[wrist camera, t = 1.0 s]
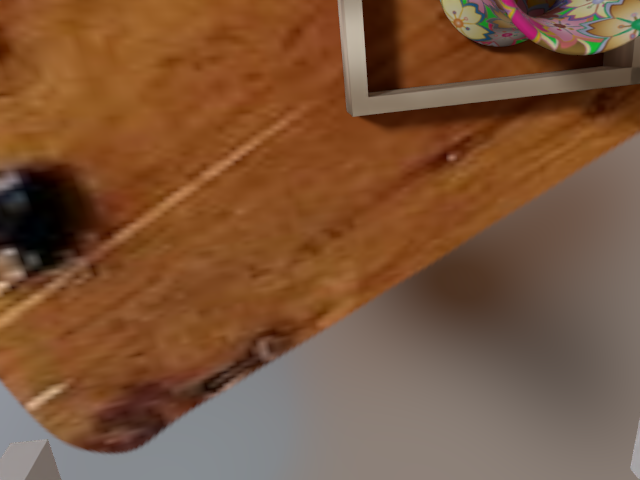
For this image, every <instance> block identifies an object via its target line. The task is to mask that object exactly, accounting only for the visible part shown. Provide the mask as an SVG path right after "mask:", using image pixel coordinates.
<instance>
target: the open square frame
mask: <svg viewBox="0 0 640 480" xmlns="http://www.w3.org/2000/svg"><path fill="white" fill-rule="evenodd" d="M338 10H339V22H340V34H341V46H342V58H343V70H344V83H345V95H346V107H347V112H349V113H350V114H351V115H352V116H353V117H354V116H362V115H371V114H380V113H388V112H397V111H406V110H415V109H423V108H432V107H441V106H449V105H458V104H467V103H475V102H484V101H493V100H502V99H510V98H519V97H528V96H536V95H545V94H554V93H563V92H571V91H580V90H589V89H597V88H606V87H615V86H624V85H632V84H640V36H639V37H637V38H635V39H634V40H632V41H630V42H628V43H627V44H625V45H623V46H620V47H618V48H615V49H613V50H609V51H606V52H604V57H603V66H598V67H590V68H581V69H572V70H563V71H554V72H545V73H537V74H528V75H519V76H510V77H501V78H493V79H484V80H475V81H466V82H457V83H448V84H440V85H431V86H422V87H413V88H404V89H396V90H387V91H378V92H369V93H368V85H367V70H366V55H365V40H364V26H363V11H362V0H338Z"/></svg>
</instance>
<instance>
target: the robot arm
mask: <svg viewBox="0 0 640 480" xmlns="http://www.w3.org/2000/svg"><path fill="white" fill-rule="evenodd" d="M630 469H631V470H632V471H633V473H634V474H635V475H636V476H637V477H638V479H639V480H640V420H639V426H638V430H637V436H636V441H635V446H634V451H633V457H632V462H631V467H630ZM0 480H61V478H60V475H59V472H58V469H57V466H56V462H55V459H54V456H53V453H52V450H51V447H50V444H49V441H48V439H46V440H37V441H27V442H18V443H11V444H10V446H9V447H8V448H7V450H6V451H5V453H4V454H3V456H2V457H1V459H0Z"/></svg>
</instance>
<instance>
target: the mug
mask: <svg viewBox="0 0 640 480" xmlns="http://www.w3.org/2000/svg"><path fill="white" fill-rule="evenodd" d="M440 2H441V5H442V7H443V10H444V12H445V14H446V15H447V17H448V19H449V20H450V22H451V23H452V24H453V25H454V27H455V28H456V29H457V30H458V31H459V32H461V33H462V34H463V35H464V36H466V37H467V38H469V39H471V40H473V41H475V42H477V43H480V44H483V45H487V46H495V47H502V46H510V45H515V44H518V43H521V42H524V41H526V40H528V39H530V40H532V41H533V42H534V43H536V44H538V45H540V46H542V47H544V48H546V49H548V50H551V51H554V52H558V53H562V54H569V55H591V54H597V53H603V52H606V51H609V50H613V49H615V48H618V47H620V46H623V45H625V44H627V43H628V42H630V41H632V40H634V39H635V38H637V37H639V36H640V0H440Z"/></svg>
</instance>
